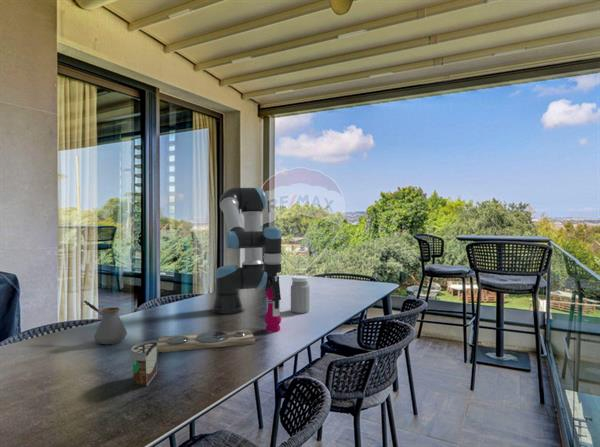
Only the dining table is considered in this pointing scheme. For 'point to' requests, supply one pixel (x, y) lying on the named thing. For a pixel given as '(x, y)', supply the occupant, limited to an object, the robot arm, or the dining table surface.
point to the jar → (300, 294)
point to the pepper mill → (271, 314)
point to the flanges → (216, 336)
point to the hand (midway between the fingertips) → (272, 312)
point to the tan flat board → (194, 344)
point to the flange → (177, 340)
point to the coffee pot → (109, 326)
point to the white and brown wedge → (144, 362)
